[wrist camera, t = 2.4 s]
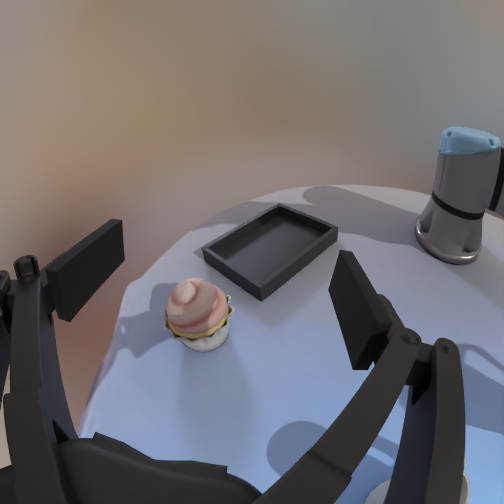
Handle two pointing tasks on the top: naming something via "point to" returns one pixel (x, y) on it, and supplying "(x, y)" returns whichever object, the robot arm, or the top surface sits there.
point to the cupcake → (198, 314)
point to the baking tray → (270, 249)
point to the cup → (379, 493)
